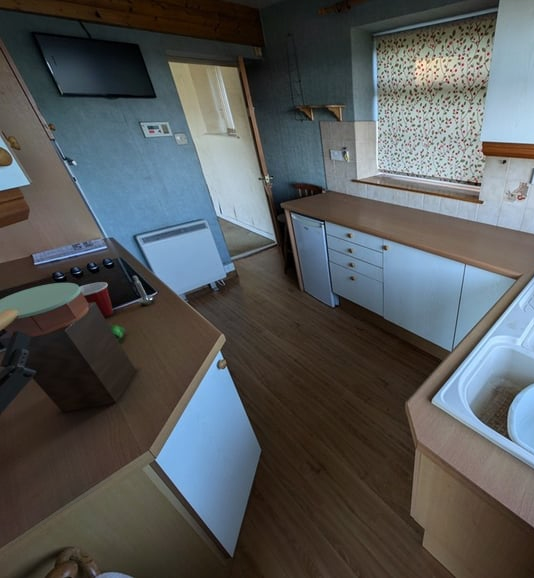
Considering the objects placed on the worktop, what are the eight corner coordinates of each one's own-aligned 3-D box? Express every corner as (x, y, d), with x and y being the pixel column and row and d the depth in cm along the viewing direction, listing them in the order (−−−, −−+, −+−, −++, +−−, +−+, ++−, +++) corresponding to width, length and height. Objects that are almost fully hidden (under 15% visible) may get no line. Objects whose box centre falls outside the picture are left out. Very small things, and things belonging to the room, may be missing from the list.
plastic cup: (120, 303, 119) (106, 277, 113) (122, 315, 112) (107, 288, 106) (85, 313, 113) (68, 286, 107) (84, 326, 106) (66, 299, 100)
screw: (141, 308, 116) (139, 303, 119) (155, 303, 119) (153, 298, 122) (126, 279, 109) (125, 275, 112) (142, 276, 112) (141, 271, 115)
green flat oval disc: (25, 292, 72) (17, 281, 70) (95, 285, 75) (89, 274, 73) (-89, 365, 50) (-104, 353, 49) (16, 351, 54) (6, 339, 52)
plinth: (56, 415, 75) (-27, 323, 60) (87, 376, 86) (24, 289, 71) (118, 404, 78) (54, 314, 63) (140, 367, 90) (90, 283, 74)
